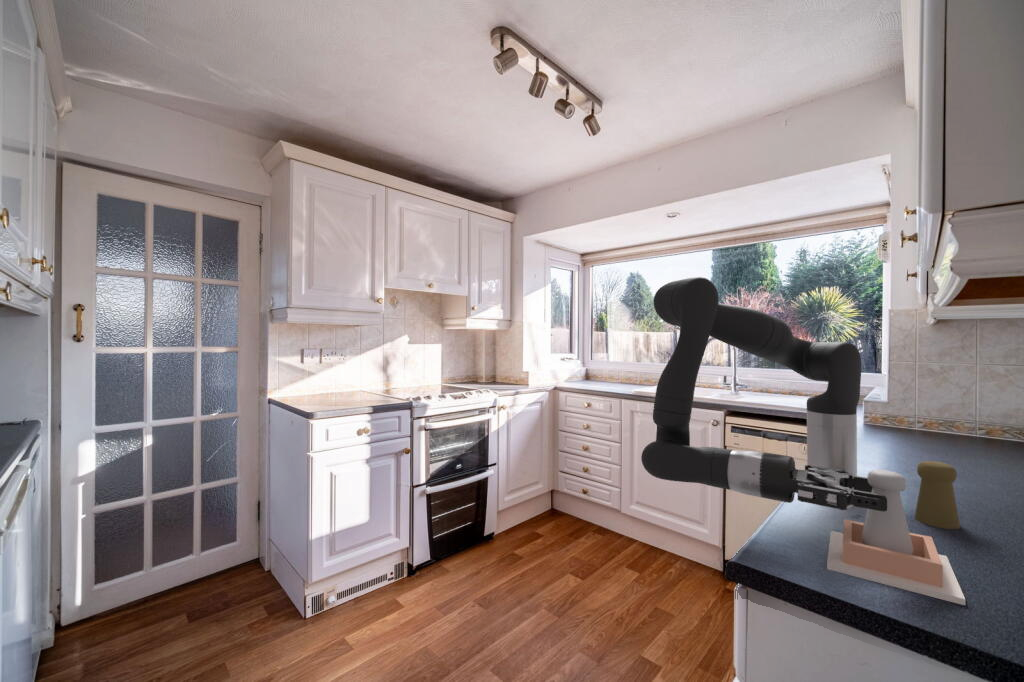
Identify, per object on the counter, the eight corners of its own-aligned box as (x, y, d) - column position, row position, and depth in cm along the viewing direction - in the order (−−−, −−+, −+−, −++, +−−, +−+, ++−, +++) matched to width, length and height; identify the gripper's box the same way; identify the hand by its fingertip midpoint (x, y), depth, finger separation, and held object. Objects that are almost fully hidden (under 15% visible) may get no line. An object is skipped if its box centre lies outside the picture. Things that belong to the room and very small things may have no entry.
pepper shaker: (968, 526, 77) (968, 465, 77) (947, 531, 75) (946, 468, 75) (927, 513, 83) (927, 456, 83) (906, 517, 81) (906, 459, 81)
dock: (831, 535, 73) (831, 513, 73) (946, 561, 65) (946, 536, 65) (827, 569, 63) (827, 542, 63) (965, 605, 54) (965, 575, 54)
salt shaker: (907, 574, 60) (906, 480, 60) (856, 557, 64) (855, 470, 64) (917, 561, 63) (917, 473, 63) (868, 546, 68) (868, 464, 68)
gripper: (753, 461, 68) (888, 482, 58) (767, 445, 79) (882, 460, 69) (753, 508, 68) (888, 537, 58) (767, 485, 79) (882, 506, 69)
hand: (885, 495), depth 64 cm, fingers open, 8 cm apart
